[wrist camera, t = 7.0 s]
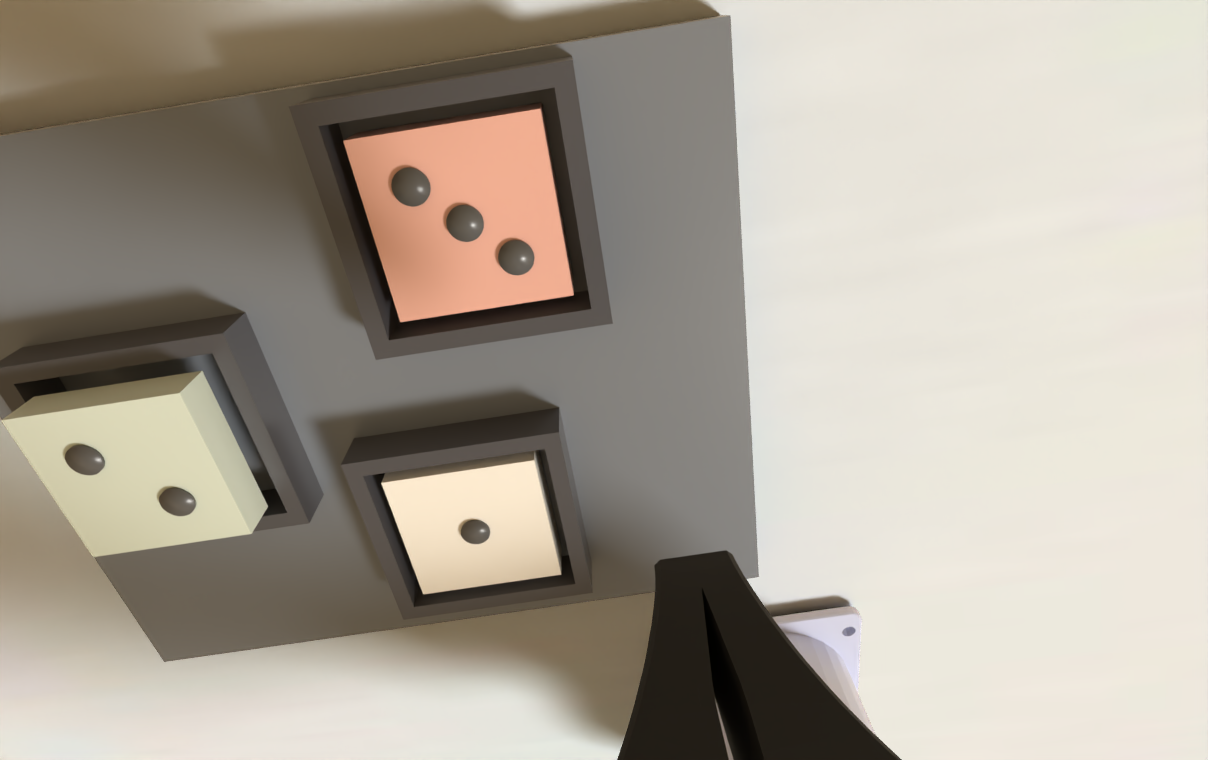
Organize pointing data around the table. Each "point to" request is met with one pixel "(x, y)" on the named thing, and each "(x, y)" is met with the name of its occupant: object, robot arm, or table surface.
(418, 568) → the key one
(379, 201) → the key three
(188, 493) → the key two
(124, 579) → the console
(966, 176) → the table surface
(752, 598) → the robot arm
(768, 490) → the table surface
